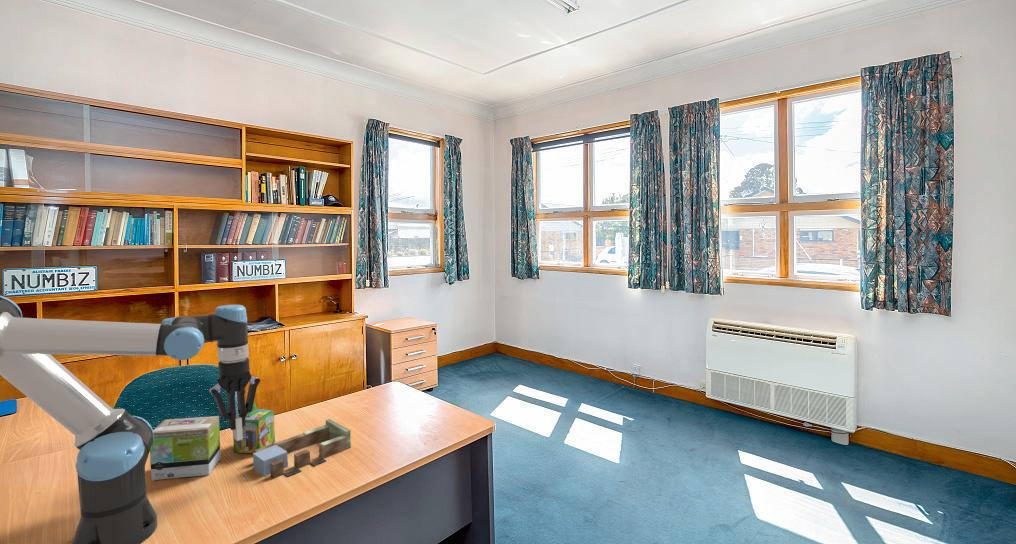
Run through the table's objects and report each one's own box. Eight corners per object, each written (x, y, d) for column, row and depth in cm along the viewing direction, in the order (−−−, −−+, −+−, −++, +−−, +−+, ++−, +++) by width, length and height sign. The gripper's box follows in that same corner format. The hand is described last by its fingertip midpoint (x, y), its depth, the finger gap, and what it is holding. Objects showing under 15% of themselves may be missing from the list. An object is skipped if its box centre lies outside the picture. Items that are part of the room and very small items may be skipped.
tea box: (150, 482, 129) (147, 433, 127) (166, 464, 138) (163, 418, 137) (209, 475, 133) (207, 427, 131) (221, 458, 142) (219, 414, 141)
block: (264, 477, 133) (263, 460, 133) (253, 469, 137) (253, 453, 137) (287, 467, 139) (287, 451, 138) (276, 459, 143) (276, 444, 142)
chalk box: (259, 454, 145) (257, 410, 144) (232, 453, 146) (230, 409, 144) (276, 441, 154) (274, 399, 153) (250, 440, 155) (249, 398, 154)
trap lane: (277, 481, 130) (276, 461, 130) (254, 462, 141) (254, 444, 140) (354, 449, 150) (354, 432, 149) (329, 435, 160) (329, 418, 159)
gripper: (212, 367, 120) (217, 451, 123) (263, 356, 130) (267, 434, 133) (202, 361, 125) (207, 442, 127) (253, 352, 135) (256, 427, 137)
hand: (238, 438), depth 130 cm, fingers closed
